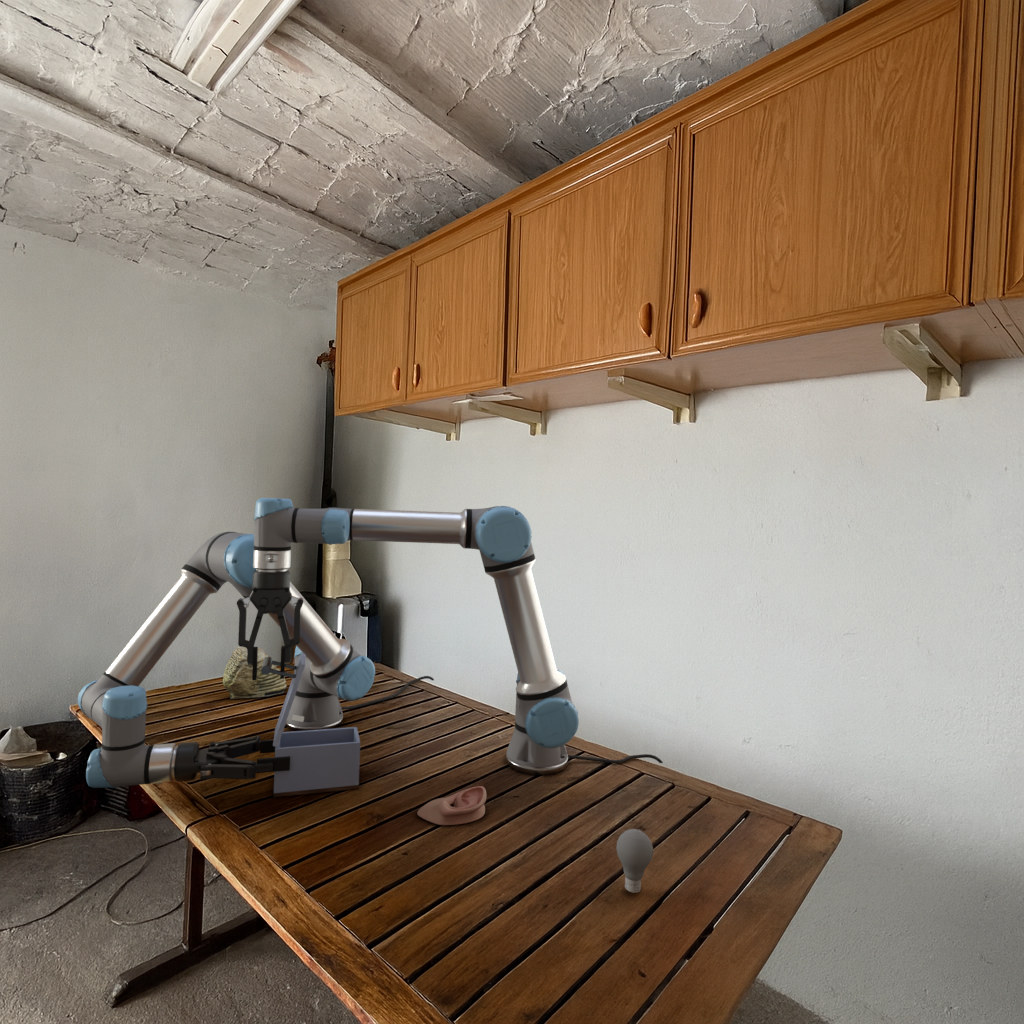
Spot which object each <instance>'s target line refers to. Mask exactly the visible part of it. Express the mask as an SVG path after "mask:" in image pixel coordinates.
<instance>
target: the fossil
mask: <svg viewBox="0 0 1024 1024" xmlns="http://www.w3.org/2000/svg"><path fill="white" fill-rule="evenodd" d="M265 657H270V656H269V655H268V654H267V653H266V652H265V650H264V649H263V648H260V647H258V658H257V678H256V680H252V670H253V664H248V663H247V648H245V647H240V646H238V647H237V648H236V649H235V650H233V651H232V653H231V656H230V657H229V659H228V660H227V663H226V666H225V668H224V671H223V675H222V676H223V677H222V685H223V687H224V688H225V690H226V691H228V693H229V698H230V699H250V698H264V697H271V696H275V695H281V694H284V693H285V691H286V689H287V687H288V686H287V680H286V678H285V677H286V676H284V679H280V675H278V674H273V673H269V674H267V675H264V674H262V672H261V668H262V664H263V660H264V658H265ZM271 669H274V670H279V671H280V670H281V669H279V668H278V667H277V665H273V664H272V667H271Z"/></svg>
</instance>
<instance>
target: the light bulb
mask: <svg viewBox="0 0 1024 1024" xmlns="http://www.w3.org/2000/svg"><path fill="white" fill-rule="evenodd" d="M615 849H616V854H617V857H618V859H619V861H620V863H621V865H622V867H623V873H624V874H623V875H624V876H625V878H624V888H625V890H627V891H628V892H630V893H634V894H635V893H639V892H640V891H641V889H642V887H641V886H642V879H643V877H644V875H645V871H646V868H647V867H648V866H649V864H650V863H651V861H652V859H653V855H654V847H653V843H652V841H651V838H649V836H648V835H647V834H646V833H645V832H643V831H642V830H641V829H636V828H629V829H627V830H625V831H623V832H622V833H621V834H620V835H619V837H618V839H617V841H616V847H615Z"/></svg>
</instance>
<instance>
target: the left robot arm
mask: <svg viewBox="0 0 1024 1024" xmlns="http://www.w3.org/2000/svg"><path fill="white" fill-rule="evenodd" d="M253 551H254V533H243V532H237V531H222V532H219V533H217V534H214V535H212V536H211V537H209V538H208V539H207V540H206V541H204V543H202V544H201V545H200V546H199V547H198V548H197V550H195V552H194V553H193V554H192V555H191V556H190V557H189V558H188V559H187V561H186V562H185V564H184V565H183V566H182V567H181V569H180V570H179V571H180V577H179V579H178V580H177V581H176V582H175V583H174V585H173V586H172V588H170V590H169V591H168V593H166V594H165V596H164V597H163V598H162V600H161V601H160V602H159V604H158V605H157V606H156V607H155V608H154V610H153V611H152V612H151V614H150V615H149V616H148V617H147V618H146V620H145V621H144V622H143V623H142V625H141V626H140V627H139V629H137V631H136V632H135V634H134V635H133V636H132V637H131V638H130V640H129V641H128V642H127V643H126V645H125V646H124V647H123V648H122V650H121V651H120V652H119V653H118V654H117V656H116V657H115V659H114V660H113V661H112V662H111V664H110V665H109V666H108V667H107V668H106V670H105V671H104V673H102V675H101V676H100V677H99V678H98V679H95V680H93V681H91V682H88V683H87V684H86V685H84V686H83V687H82V688H81V690H80V691H79V693H78V696H77V705H78V708H79V709H80V710H81V712H82V714H83V715H84V716H86V718H88V719H90V720H91V721H93V722H94V723H95V724H97V725H98V726H99V727H100V728H101V733H102V734H101V747H100V748H95V749H93V750H92V751H91V752H90V755H89V757H88V760H87V762H86V763H87V764H86V765H87V766H86V769H85V778H86V779H85V781H86V783H87V785H88V787H90V788H93V789H100V788H101V789H103V788H104V789H105V788H106V789H107V788H111V789H115V788H121V787H130V786H139V785H140V786H141V785H153V784H157V785H158V786H161V785H163V784H164V783H171V782H173V781H175V782H178V783H180V782H191V781H194V780H195V779H197V776H198V773H199V778H200V780H210V779H221V780H224V779H225V780H254V779H256V777H257V774H261V773H262V774H263V773H274V772H276V771H288V770H290V756H287V757H275V756H273V757H263V758H262V757H261V758H257V759H256V760H251V759H242V758H240V757H244V756H248V755H252V754H255V753H258V752H259V754H272V753H273V754H275V746H273V741H274V738H273V739H261V736H260V735H256V736H249V737H244V738H237V739H231V740H223V741H211V742H209V747H207V748H203V749H200V744H199V742H198V741H191V742H181V743H179V744H178V745H177V743H175V742H171V743H160V744H159V743H158V744H148V745H147V744H146V725H147V723H146V722H147V709H148V702H147V691H146V688H144V687H142V686H140V685H141V684H142V683H143V681H144V680H145V679H146V678H147V676H148V675H149V673H150V672H151V671H152V670H153V668H154V667H155V665H156V664H157V663H158V662H159V660H160V659H161V658H162V657H163V655H165V653H166V651H167V650H168V649H169V647H170V646H171V645H172V644H173V642H174V641H175V640H176V639H177V637H178V636H179V635H180V633H181V632H182V631H183V630H184V628H185V627H186V626H187V625H188V623H189V622H190V620H191V619H192V618H193V617H194V615H195V614H196V613H197V612H198V610H199V609H200V607H202V605H203V604H204V602H205V601H206V600H207V599H208V597H209V596H210V595H212V594H217V593H218V591H220V590H221V588H222V586H223V585H225V584H226V583H227V582H228V583H230V584H231V585H232V586H233V587H234V589H235V590H236V591H237V592H238V593H239V594H240V595H241V596H242V597H243V598H246V597H249V596H250V594H251V593H252V584H253V572H254V571H255V570H256V569H255V568H253ZM287 570H288V571H289V569H287ZM290 592H291V594H292V596H294V597H297V598H303V605H302V607H301V610H300V642H299V644H298V645H295V650H294V655H293V657H294V666H297V663H298V660H299V657H300V654H301V653H304V654H305V667H304V670H303V673H302V676H301V679H300V682H299V685H298V688H297V691H296V694H295V697H294V700H293V703H292V706H291V709H290V712H289V715H288V718H287V721H286V724H285V727H286V728H287V729H289V730H291V731H307V730H321V729H335V728H338V727H339V726H340V725H342V723H343V722H344V714H343V711H344V710H353V709H357V708H361V707H365V706H369V705H373V704H376V703H380V702H384V701H387V700H390V699H393V698H395V697H397V696H398V695H400V694H401V693H402V692H403V691H404V690H406V689H407V688H408V687H409V686H410V685H411V684H414V683H416V682H420V681H422V680H425V679H429V680H430V681H435V679H434V677H432V676H430V675H424V676H420V677H418V678H415V679H413V680H410V681H408V682H407V683H406V684H404V686H402V687H401V688H400V689H399V690H398V691H396V692H395V693H393V694H390V695H388V696H384V697H381V698H377V699H373V700H369V701H366V702H362V703H359V704H353V705H348V706H347V705H346V706H345V705H343V706H341V702H340V700H342V701H349V702H353V701H354V702H355V701H358V700H360V699H362V698H363V697H364V696H366V695H367V693H368V692H369V691H370V690H371V689H372V686H373V684H374V681H375V676H376V665H375V663H374V662H373V661H372V660H371V658H369V657H367V656H365V655H361V654H360V653H359V652H358V651H357V650H356V648H354V646H353V645H352V644H351V643H350V641H349V640H347V639H345V638H338V637H337V636H336V634H335V633H334V632H333V631H332V629H331V628H330V627H329V626H328V625H327V623H325V621H324V620H323V619H322V618H321V616H320V615H319V614H318V613H317V611H315V609H314V608H313V607H312V605H311V604H310V603H309V602H308V601H307V600H306V599H305V597H304V596H303V595H302V594H301V593H300V591H299V590H298V589H297V588H296V587H295V585H294V584H293V583H292V582H291V581H290ZM283 611H284V615H285V620H286V624H287V628H288V632H289V636H290V639H293V638H294V611H295V607H293V606H292V601H290V602H289V603H288V604H287V605H286V607H285V608H284V609H283ZM267 615H268V616H269V617H270V618H271V620H273V622H275V624H276V625H277V626H278V627H279V628H280V624H279V620H278V616H277V614H273V613H268V614H267ZM293 670H294V669H293ZM294 672H295V670H294ZM294 672H293V673H294Z"/></svg>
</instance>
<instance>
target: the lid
mask: <svg viewBox="0 0 1024 1024" xmlns="http://www.w3.org/2000/svg"><path fill="white" fill-rule="evenodd" d="M272 664H273V665H276V667H281V661H277V660H273V658H272V657H271V656H269V657H265V658H264V660H263V664H262V668H261V672H262V674H264V675H267V674H269V673H273V674H278V675H282V676H284V677H287V678H291V681H290V683H289V686H288V690H287V693H286V695H285V699H284V702H283V705H282V707H281V711H280V714H279V716H278V719H277V722H276V725H275V728H274V735H273V739H274V741H273V746H275V747H278V744H279V741H280V739H281V736H282V733H283V732H284V729H285V727H286V721H287V718H288V715H289V712H290V709H291V706H292V703H293V700H294V697H295V694H296V691H297V688H298V685H299V682H300V679H301V676H302V673H303V670H304V667H305V654H304V653H301V654H300V657H299V660H298V663H297V666H295V664H294V665H293V664H289V663H285V669H290V670H295V672H293V673H291V672H287V671H284V672H283V671H279V670H280V669H279V670H274V669H271V667H272Z"/></svg>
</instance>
